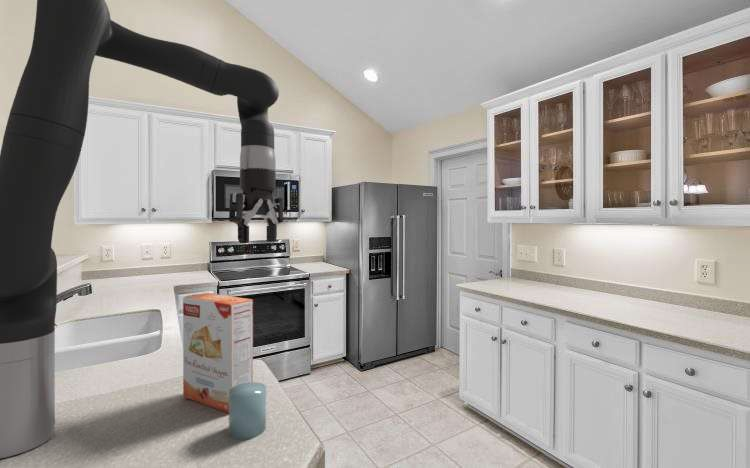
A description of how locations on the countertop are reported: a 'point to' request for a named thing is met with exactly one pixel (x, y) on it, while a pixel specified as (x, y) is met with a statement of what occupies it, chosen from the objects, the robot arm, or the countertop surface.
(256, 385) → the pale blue rounded cylinder
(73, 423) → the countertop surface
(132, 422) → the countertop surface
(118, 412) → the countertop surface
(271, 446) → the countertop surface
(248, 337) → the cracker box
